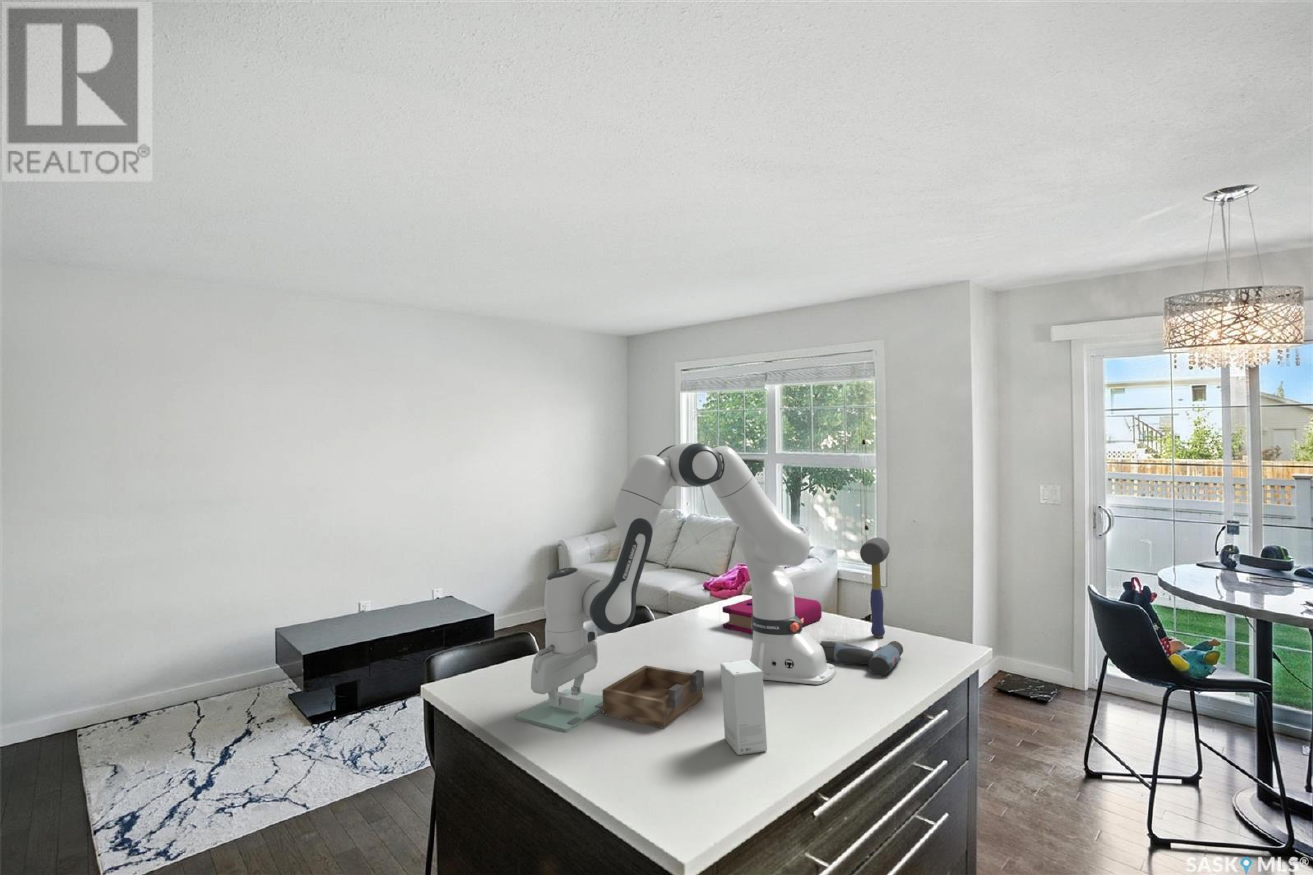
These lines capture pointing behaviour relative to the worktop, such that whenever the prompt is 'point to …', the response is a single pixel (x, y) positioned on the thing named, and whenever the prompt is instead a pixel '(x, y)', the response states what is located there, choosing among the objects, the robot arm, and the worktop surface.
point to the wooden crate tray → (653, 695)
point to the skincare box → (743, 707)
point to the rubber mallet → (876, 580)
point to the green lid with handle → (563, 711)
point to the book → (744, 611)
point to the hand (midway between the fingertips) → (566, 700)
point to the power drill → (864, 655)
